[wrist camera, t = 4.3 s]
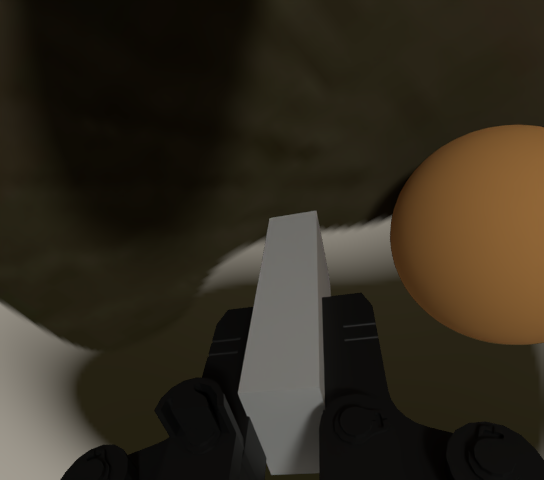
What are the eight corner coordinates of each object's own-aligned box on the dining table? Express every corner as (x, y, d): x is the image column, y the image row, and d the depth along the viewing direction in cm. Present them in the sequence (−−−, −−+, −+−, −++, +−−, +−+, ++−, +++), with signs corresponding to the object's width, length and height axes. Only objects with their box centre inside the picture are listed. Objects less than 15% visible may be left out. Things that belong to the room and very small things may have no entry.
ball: (754, 313, 7) (706, 167, 10) (431, 126, 8) (495, 59, 12) (507, 426, 11) (538, 294, 15) (326, 292, 12) (397, 203, 16)
